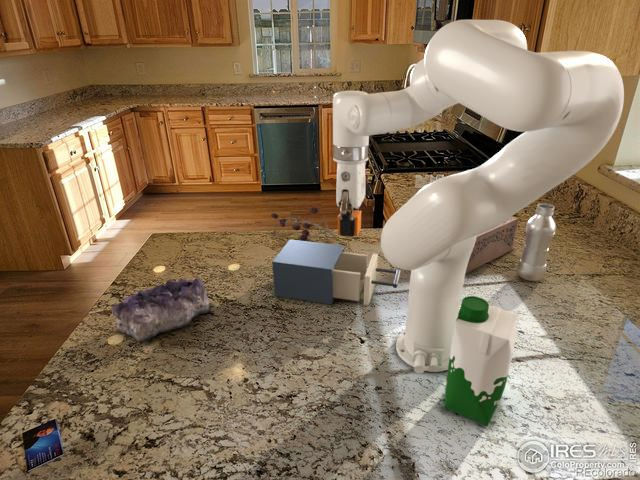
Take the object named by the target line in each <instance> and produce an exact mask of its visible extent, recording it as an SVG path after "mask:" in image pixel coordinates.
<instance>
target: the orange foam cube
mask: <svg viewBox="0 0 640 480" xmlns="http://www.w3.org/2000/svg"><path fill="white" fill-rule="evenodd" d="M348 211H349V212H350V211H351V210H348ZM353 219H354V220H355V230H354V236H353V237H358V235H360V231H361V229H362V210H354V215H353ZM337 235H338V236H339V235H340V213H339V214H338V215H337ZM340 236H341V235H340Z"/></svg>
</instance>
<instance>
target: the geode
mask: <svg viewBox="0 0 640 480" xmlns="http://www.w3.org/2000/svg"><path fill="white" fill-rule="evenodd" d="M209 294H210V292H208V291H207V289H206V287H205V284H204V282H203V281H202V279H201V278H200V277H195V278H194V279H193V280H189V279H185V278H180V279H179V280H178V281H177V280H175V281H173V280H171V279H167V280H166V282H165V284H163V283H161V284H159V285H156V286H154V287H151V288H148V289H145V290H142V289H139V290H138V292H136V293H134V294H133V295H128V296H126V297H125V298H124V300H123V301H122V302H119V303H117V304H114V305H112V306H111V313H112V315H113V316H115V317H116V319H115V320H116V321H115V323H116V329H117V331H119V332H121V333H123V334H126V335H128V336H130V337H132V338H133V339H134V340H135V341H136V342H138V343H143V342H146V341H149V340H151V339H152V338H153V337H156V336H157V335H159V334H161V333H166V332H167V333H168V332H170V331H174V330H175V329H181V328H184V327H187V326H188V325H190V324H191V323H192V320H193V319H194V318H196V317H198V316H199V315H203V314H204V315H205V314H208V313H209V310H210V308H211V305H210V302H209Z"/></svg>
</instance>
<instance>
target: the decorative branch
mask: <svg viewBox="0 0 640 480" xmlns="http://www.w3.org/2000/svg"><path fill="white" fill-rule="evenodd" d="M309 212H310V213H311V214H313V215H314V214H317V213H318V212H320V213H322V216H323V219H322V222H320V223H314V222H311V221H312V219H309V221H304V220H306V219H307V217H304V218H302V219H301V221H300V218H301V216H298V217H289V216H287V217H286V218H284V217H283V218H281V217H280V216H279V214H278V213H276V212H272V213H271V214H270V216H271V218H272V219H275V220H277V219H278V221H279V226H280V227H281V228H284V227H285V226H287V224H288V223H289V222H290V221H292V220H293V221H292V223H293V224H292V226H291V227H292V229H293V230H294V231H299V230H301V228H302V227H303V229H302V230H301V234H300V235H299V240H300V241H308V239H313V238H316V237H318V236H319V235H325V238H326V240H327V243H329V242H330V240H329V237H328V234H327V233H329V234H330V235H331V236H332V237H334V238H335V239H338V236H337V235H336V234H335V233H334V232H333V231H332V230H331V229H330V228H328V226H329V225H328V224H329V223H328V222H327V221H326V220H325V219H326V216H325V214H324V212H322V211H321V210H320V209H319V208H318V207H317V206H311V208H309ZM323 223H324V224H325V227H321V226H320V225H322V224H323ZM313 226H314V228H313ZM311 228H312V229H311ZM310 229H311V230H310ZM315 229H318V230H319V232H317V234H316V235H313V236H310V234H311V233H312V232H313V231H314V230H315Z"/></svg>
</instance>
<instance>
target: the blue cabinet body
mask: <svg viewBox="0 0 640 480" xmlns="http://www.w3.org/2000/svg"><path fill="white" fill-rule="evenodd" d="M342 252H345V245H343V244H342V245H341V244H333V243H324V242H317V241H308V240H306V241H302V240H300V239H299V240H298V239H289V240H288V241H287V243H286V244H285V245H284V246H283V247H282V249H281V250H280V251H279V253H277V255H276V256H275V257H274V259H272V261H271V265H272V280H273V293H274V294H273V295H274V297H280V298H288V299H291V300H300V301H305V302H306V301H307V302H313V303H319V304H325V305H326V304H327V305H331V306H332V305H333V303H334V301H335V299H336V298H334V297H333V269H334V267H335V266H336V264H337V262H338V260H339V258H340V256H341V254H342Z"/></svg>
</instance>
